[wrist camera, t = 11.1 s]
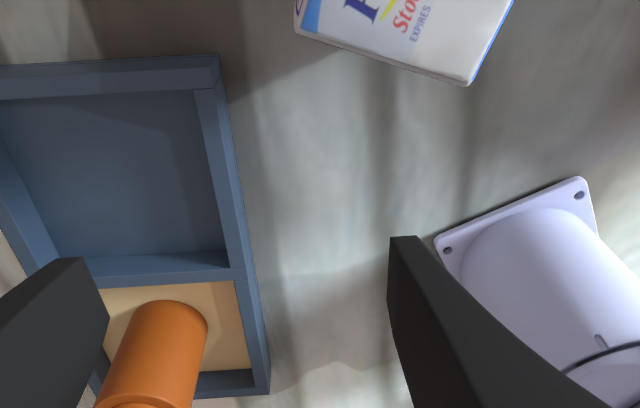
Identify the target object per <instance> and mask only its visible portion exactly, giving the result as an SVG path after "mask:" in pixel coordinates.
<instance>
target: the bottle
mask: <svg viewBox="0 0 640 408" xmlns="http://www.w3.org/2000/svg"><path fill="white" fill-rule="evenodd" d="M207 333H208V325H207V322H206V320H205V318H204V317H203V315H202V314H201V313H200V312H199V311H198V310H196V309H195V308H193V307H191V306H190V305H187V304H185V303H182V302H179V301H174V300H156V301H151V302H148V303H145V304H143V305H142V306H140V307H139V308H137V309H136V310H135V312H134V313H133V315H132V317H131V319H130V322H129V324H128V326H127V329H126V331H125V333H124V336H123V338H122V340H121V343H120V345H119V347H118V350H117V352H116V355H115V357H114V359H113V362H112V364H111V366H110V369H109V371H108V373H107V376H106V378H105V380H104V383H103V385H102V387H101V390H100V392H99V395H98V397H97V399H96V402H95V404H94V406H93V408H191V406H192V402H193V397H194V393H195V388H196V384H197V379H198V374H199V370H200V365H201V361H202V356H203V352H204V347H205V343H206V338H207Z"/></svg>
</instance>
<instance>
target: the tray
mask: <svg viewBox="0 0 640 408" xmlns="http://www.w3.org/2000/svg"><path fill="white" fill-rule="evenodd" d="M0 229H1V230H2V232H3V234H4V236H5V237H6V239H7V241H8V243H9V244H10V246H11V248H12V250H13V252H14V253H15V255H16V257H17V259H18V260H19V262H20V264H21V266H22V267H23V269H24V271H25V273H26V275H27V276H28V277H30V276H31V275H32V274H34V273H35V272H37V271H38V270H39V269H41V268H42V267H44V266H45V265H47V264H48V263H50V262H51V261H53V260H54V259H56V258H66V257H82V256H83V258H84V260H85V262H86V265H87V267H88V269H89V271H90V273H91V276H92V278H93V280H94V282H95V284H96V287H97V289H98V291H99V293H100V295H101V298H102V300H103V302H104V304H105V306H106V309H107V311H108V313H109V315H110V321H109V324H108V328H107V332H106V335H105V339H104V342H103V345H102V348H101V352H100V355H99V358H98V360H97V362H96V365H95V367H94V369H93V372H92V374H91V376H90V378H89V381H88V384H89V386H90V387H91V389H92V391H93V393H94V394H95V396H96V398H97V397H98V395H99V392H100V390H101V387H102V385H103V383H104V380H105V378H106V376H107V373H108V371H109V369H110V366H111V364H112V362H113V359H114V357H115V355H116V352H117V350H118V347H119V345H120V343H121V340H122V338H123V336H124V333H125V331H126V329H127V326H128V324H129V322H130V319H131V317H132V315H133V313H134V312H135V310H136V309H137V308H139V307H140V306H142V305H143V304H145V303H148V302H151V301H156V300H174V301H179V302H182V303H185V304H187V305H190V306H191V307H193V308H195V309H196V310H198V311H199V312H200V313H201V314H202V315H203V317H204V318H205V320H206V322H207V325H208V333H207V338H206V343H205V347H204V352H203V356H202V361H201V365H200V370H199V374H198V379H197V384H196V388H195V393H194V397H193V400H195V399H209V398H224V397H238V396H253V395H267V394H269V393H270V378H271V362H270V356H269V350H268V344H267V339H266V333H265V327H264V321H263V315H262V309H261V303H260V297H259V291H258V285H257V279H256V273H255V267H254V262H253V256H252V250H251V244H250V238H249V232H248V226H247V220H246V214H245V208H244V202H243V196H242V191H241V185H240V179H239V173H238V167H237V161H236V155H235V149H234V143H233V137H232V131H231V125H230V120H229V114H228V108H227V102H226V96H225V90H224V84H223V78H222V72H221V66H220V60H219V55H218V54H217V53H213V54H195V55H178V56H160V57H142V58H124V59H106V60H88V61H70V62H52V63H35V64H17V65H0Z"/></svg>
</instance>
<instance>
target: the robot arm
mask: <svg viewBox="0 0 640 408" xmlns="http://www.w3.org/2000/svg"><path fill="white" fill-rule="evenodd" d="M579 191H580V192H579ZM577 192H579V194H577V195H575V194H576V193H577ZM574 195H575V196H574ZM433 242H434V245H435V248H436V250H437V252H438V254H439V256H440V258H441V260H442V262H443V264H444V266H445V267H446V268H445V267H444V266H443V265H442V263H441V262H440V261H439V260H438V259H437V258H436V257H435V256H434V255H433V253H432V252H431V251H430V250H429V249H428V248H427V247H426V245H425V244H424V243H423V242H422V241H421V240H420V239H419V238H418V237H417V236H416V235H415V236H399V237H390V248H389V265H388V282H387V298H386V300H387V305H388V311H389V317H390V323H391V328H392V333H393V338H394V342H395V345H396V349H397V352H398V355H399V359H400V362H401V365H402V369H403V372H404V375H405V379H406V382H407V385H408V389H409V392H410V395H411V398H412V402H413V405H414V408H640V280H639V278H638V277H637V276H636V275H635V274H634V273H633V272H632V271H631V270H630V269H629V268H628V267H627V266H626V265H625V264H624V263H623V262H622V261H621V260H620V259H619V258H618V257H617V256H616V255H615V254H614V253H613V252H612V251H611V250H610V249H609V248H608V247H607V246H606V245H605V244H604V243H603V242H602V241H601V240H600V239H599V235H598V231H597V226H596V221H595V217H594V212H593V208H592V203H591V198H590V194H589V189H588V185H587V182H586V180H584V179H583V178H582V177H580V176H574V177H571V178H569V179H566V180H564V181H562V182H559V183H557V184H555V185H553V186H550V187H548V188H546V189H543V190H541V191H539V192H536V193H534V194H532V195H529V196H527V197H525V198H522V199H520V200H518V201H515V202H513V203H511V204H508V205H506V206H504V207H502V208H499V209H497V210H495V211H492V212H490V213H488V214H485V215H483V216H481V217H478V218H476V219H474V220H471V221H469V222H467V223H464V224H462V225H460V226H457V227H455V228H453V229H450V230H448V231H446V232H444V233H441V234H439V235H437V236H436V237H435V239H434V241H433ZM446 247H450V248H449V249H447V250H444V249H445V248H446ZM109 321H110V315H109V313H108V311H107V309H106V306H105V304H104V302H103V300H102V298H101V295H100V293H99V291H98V289H97V287H96V284H95V282H94V280H93V278H92V276H91V273H90V271H89V269H88V267H87V265H86V262H85V260H84V258H83V256H82V257H66V258H56V259H54V260H53V261H51V262H50V263H48V264H47V265H45V266H44V267H42V268H41V269H39V270H38V271H37V272H35V273H34V274H32V275H31V276H30V277H28V278H27V279H25V280H24V281H23V282H21V283H20V284H19V285H17V286H16V287H15V288H13V289H12V290H11V291H9V292H8V293H6V294H5V295H4V296H2V297H1V298H0V408H76V407H77V405H78V403H79V401H80V398H81V396H82V394H83V392H84V390H85V387H86V385H87V383H88V381H89V378H90V376H91V374H92V372H93V369H94V367H95V365H96V362H97V360H98V358H99V355H100V352H101V348H102V345H103V342H104V339H105V335H106V332H107V328H108V324H109Z"/></svg>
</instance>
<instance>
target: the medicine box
mask: <svg viewBox="0 0 640 408" xmlns="http://www.w3.org/2000/svg"><path fill="white" fill-rule="evenodd" d="M513 2H514V0H295V3H294V10H293V21H294V30H295V32H296V33H297V34H300V35H303V36H306V37H309V38H312V39H315V40H317V41H320V42H323V43H326V44H329V45H332V46H335V47H338V48H341V49H345V50H348V51H351V52H354V53H357V54H360V55H363V56H366V57H369V58H372V59H375V60H378V61H381V62H384V63H387V64H390V65H393V66H396V67H399V68H403V69H406V70H409V71H412V72H415V73H418V74H422V75H425V76H429V77H431V78H434V79H437V80H440V81H444V82H447V83H450V84H454V85H457V86H460V87H467V86H469V85H470V83H471V82H472V81H473V80H474V78H475V76H476V74H477V72H478V70H479V68H480V66H481V64H482V62H483V60H484V58H485V56H486V54H487V52H488V50H489V48H490V46H491V45H492V43H493V41H494V39H495V37H496V35H497V33H498V31H499V29H500V27H501V25H502V23H503V22H504V20H505V18H506V16H507V14H508V12H509V10H510V8H511V6H512V4H513Z"/></svg>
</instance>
